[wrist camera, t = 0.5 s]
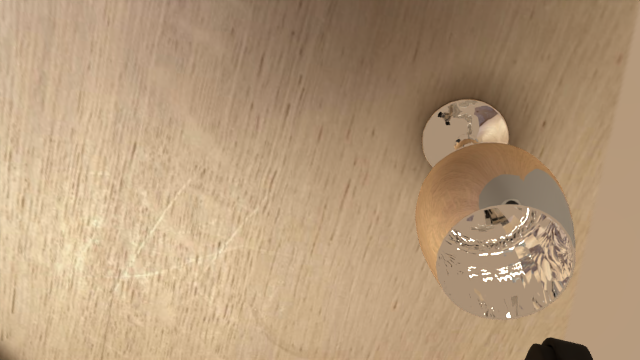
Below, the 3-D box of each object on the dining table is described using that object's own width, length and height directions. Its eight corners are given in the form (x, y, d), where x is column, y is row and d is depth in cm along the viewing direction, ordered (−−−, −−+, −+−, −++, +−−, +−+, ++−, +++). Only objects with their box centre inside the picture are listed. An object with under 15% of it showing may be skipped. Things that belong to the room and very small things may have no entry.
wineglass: (545, 141, 31) (629, 269, 20) (459, 209, 33) (492, 358, 22) (471, 62, 30) (518, 154, 19) (386, 138, 32) (384, 260, 21)
